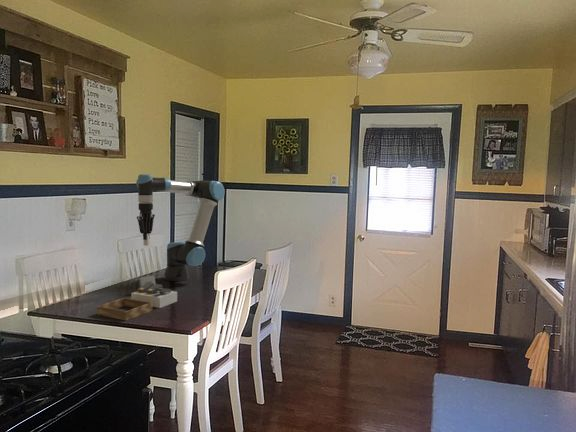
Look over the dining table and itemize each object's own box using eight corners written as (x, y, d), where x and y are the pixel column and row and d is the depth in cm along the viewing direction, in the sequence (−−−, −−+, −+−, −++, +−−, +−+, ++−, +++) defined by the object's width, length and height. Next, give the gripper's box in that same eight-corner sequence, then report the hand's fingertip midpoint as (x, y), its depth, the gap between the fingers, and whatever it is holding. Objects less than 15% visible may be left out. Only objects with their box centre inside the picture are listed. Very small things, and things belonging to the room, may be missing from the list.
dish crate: (124, 305, 241) (124, 297, 240) (152, 310, 234) (152, 302, 233) (97, 314, 225) (97, 306, 224) (126, 320, 218) (126, 311, 217)
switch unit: (149, 296, 258) (149, 285, 258) (177, 301, 251) (177, 289, 251) (131, 303, 246) (131, 291, 245) (159, 307, 238) (159, 296, 238)
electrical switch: (142, 295, 261) (141, 278, 261) (137, 294, 265) (136, 277, 264) (157, 292, 269) (156, 275, 268) (151, 291, 272) (150, 275, 272)
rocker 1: (148, 284, 254) (147, 282, 254) (154, 285, 253) (153, 283, 252) (138, 291, 247) (137, 289, 247) (144, 292, 246) (143, 289, 245)
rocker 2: (156, 286, 252) (156, 283, 252) (162, 287, 251) (162, 284, 250) (146, 292, 245) (146, 290, 245) (152, 293, 244) (152, 291, 243)
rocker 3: (164, 291, 250) (165, 288, 250) (170, 292, 248) (171, 289, 248) (154, 290, 243) (155, 287, 243) (161, 291, 241) (161, 288, 241)
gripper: (147, 201, 271) (148, 243, 274) (132, 203, 259) (133, 246, 262) (158, 202, 269) (159, 244, 271) (143, 203, 256) (144, 247, 259)
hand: (146, 245), depth 266 cm, fingers closed
